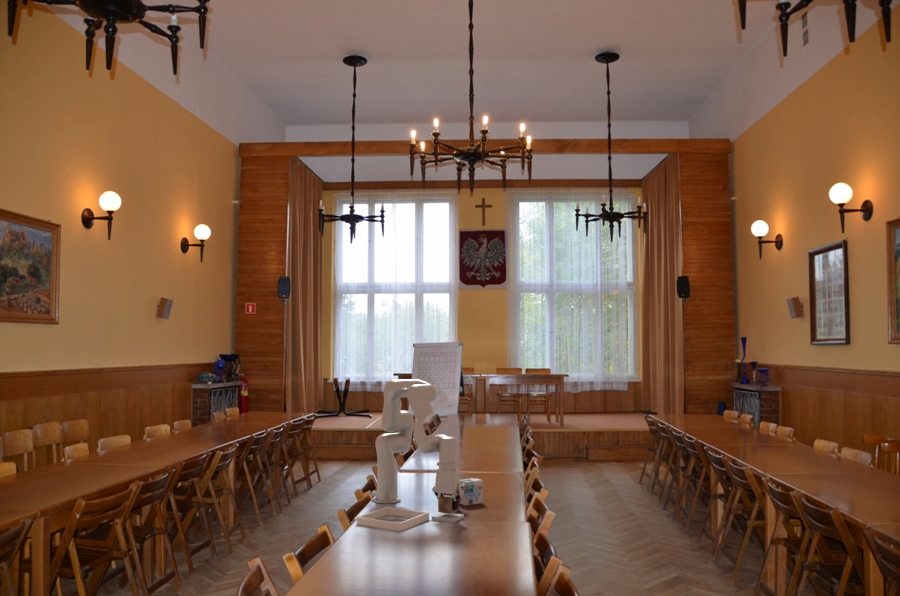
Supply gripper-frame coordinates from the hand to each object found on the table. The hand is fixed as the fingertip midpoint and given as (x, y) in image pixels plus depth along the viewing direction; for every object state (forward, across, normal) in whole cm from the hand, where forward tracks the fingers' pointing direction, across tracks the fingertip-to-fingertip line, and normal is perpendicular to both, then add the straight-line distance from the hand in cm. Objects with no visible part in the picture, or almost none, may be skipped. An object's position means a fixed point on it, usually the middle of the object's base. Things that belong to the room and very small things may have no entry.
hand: (447, 508), depth 299 cm
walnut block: (+1, 0, 0) cm, 1 cm away
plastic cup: (+4, -7, +16) cm, 18 cm away
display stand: (+4, 0, 0) cm, 4 cm away
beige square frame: (+4, -17, -16) cm, 24 cm away
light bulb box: (+4, -7, +32) cm, 33 cm away
